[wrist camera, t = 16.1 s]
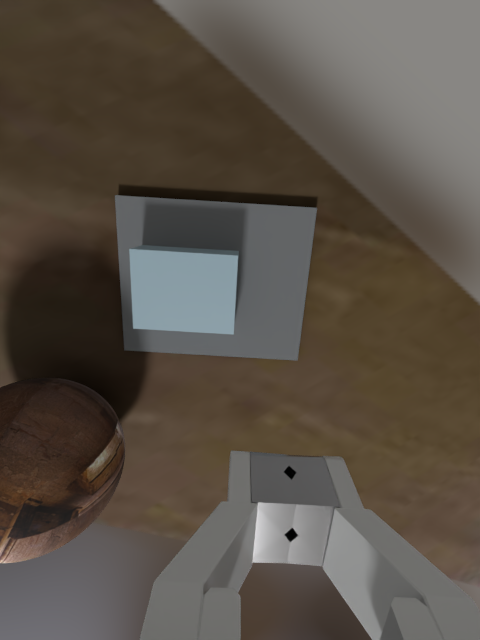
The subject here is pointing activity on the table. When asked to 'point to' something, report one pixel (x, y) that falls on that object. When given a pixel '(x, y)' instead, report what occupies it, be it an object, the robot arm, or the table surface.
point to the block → (183, 289)
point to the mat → (252, 278)
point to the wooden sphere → (54, 464)
